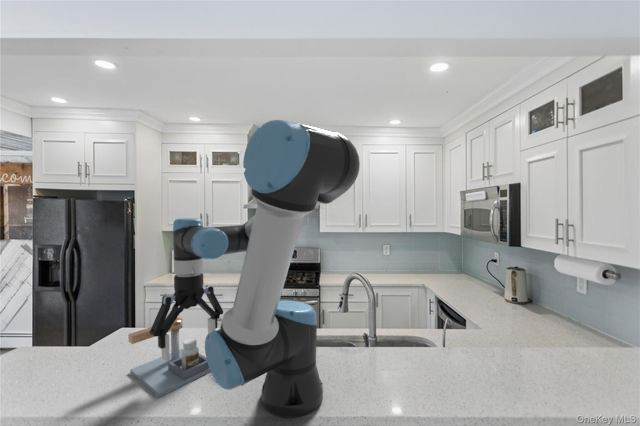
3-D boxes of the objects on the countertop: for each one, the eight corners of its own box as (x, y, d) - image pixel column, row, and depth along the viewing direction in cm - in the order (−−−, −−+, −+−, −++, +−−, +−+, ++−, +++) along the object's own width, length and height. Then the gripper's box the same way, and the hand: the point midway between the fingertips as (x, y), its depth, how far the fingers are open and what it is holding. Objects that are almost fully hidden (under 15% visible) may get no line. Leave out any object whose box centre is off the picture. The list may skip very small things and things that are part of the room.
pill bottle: (188, 374, 82) (187, 346, 82) (178, 369, 85) (178, 342, 84) (202, 366, 86) (201, 340, 86) (192, 362, 88) (191, 336, 88)
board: (213, 370, 86) (213, 335, 86) (159, 397, 74) (158, 357, 74) (182, 351, 96) (181, 321, 96) (130, 372, 85) (129, 337, 84)
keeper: (178, 323, 93) (178, 316, 92) (185, 327, 90) (185, 320, 90) (127, 340, 81) (127, 332, 81) (133, 345, 79) (133, 336, 79)
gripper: (219, 264, 96) (220, 330, 97) (134, 280, 76) (136, 363, 77) (234, 267, 92) (235, 336, 92) (147, 285, 72) (149, 373, 73)
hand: (190, 349), depth 85 cm, fingers open, 13 cm apart
